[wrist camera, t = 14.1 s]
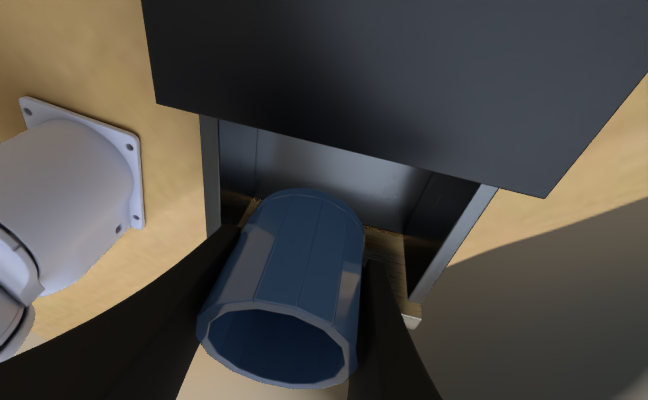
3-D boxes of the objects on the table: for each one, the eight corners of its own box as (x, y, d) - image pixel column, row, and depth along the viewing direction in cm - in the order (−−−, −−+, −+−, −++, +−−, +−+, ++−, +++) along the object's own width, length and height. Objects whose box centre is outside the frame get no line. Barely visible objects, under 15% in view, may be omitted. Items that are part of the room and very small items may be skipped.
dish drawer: (387, 289, 26) (388, 366, 21) (238, 252, 26) (204, 321, 21) (516, 47, 15) (587, 90, 9) (245, -19, 15) (173, -11, 10)
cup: (385, 211, 12) (386, 337, 8) (341, 285, 15) (326, 403, 11) (263, 168, 11) (200, 277, 7) (244, 253, 14) (191, 362, 10)
